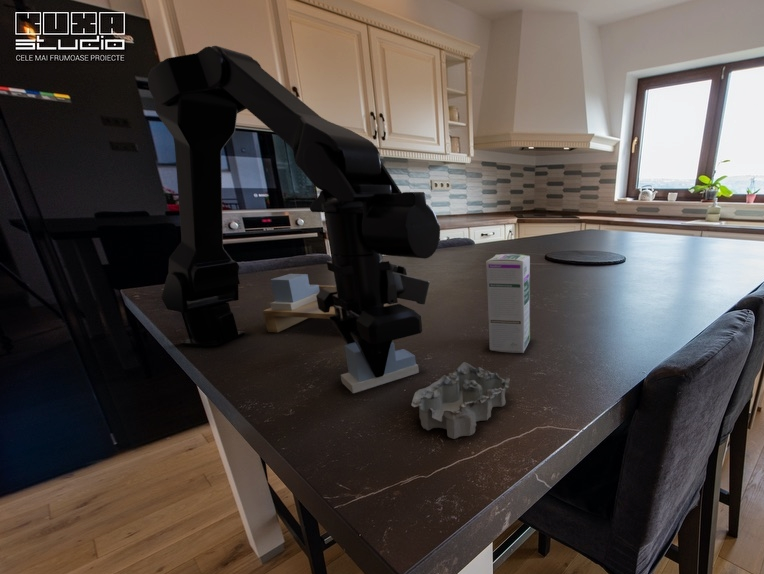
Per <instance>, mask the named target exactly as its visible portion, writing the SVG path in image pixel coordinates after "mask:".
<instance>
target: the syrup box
mask: <svg viewBox="0 0 764 574" xmlns="http://www.w3.org/2000/svg"><path fill="white" fill-rule="evenodd" d="M485 266H486V267H485V270H486V271H485V273H486V298H487V300H486V301H487V322H488V323H487V325H488V343H489V344H488V346H489V347H488V348H489V351H491V352H499V353H500V352H501V353H512V354H524V353H525V351H526V349H527V347H528V345H529V343H530V341H531V272H530V271H531V256H530V255H529V254H520V253H502V254H495V255H494V256H493V257H491V258H489V259H487V260H486V261H485Z"/></svg>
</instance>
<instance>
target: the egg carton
mask: <svg viewBox="0 0 764 574" xmlns="http://www.w3.org/2000/svg"><path fill="white" fill-rule="evenodd" d="M510 381H511V378H510V377H507V376H506V377H505V378H502V377H500V375H499V373H498V372H491V371H489V370H488V369H483V368H482V367H480V366H478V367H474V366H473V365H471V364H470V363H468V362H467V361H466V362H465V361H464V362H462V363H461V364H460V365H459V366H458V367H457V368H456V369H455V370H454V371H452V372H448V375H445V374H443V375H442V376H441V377H439V379H438V380H436V381H434V382H432V384H430V385H429V386H427V387H424V388H420V389H418V390H416V391H415V393H414V394H413V398H412V400H411V406H412V407H413V408H417V407H418V411H419V412H418V415H419V420H420V425H421V427H422V429H424V430H426V431H430V430H432V429H439V428H440V429H444V430H446V436H447V438H449V439H453V440H456V439H458V438H460V437H470V436H472V435H474V434H475V432H476V427H477V422H480V421H489V418H491V417H492V410H493V408H496V407H498V408H502V407H504V406H505V405H506V402H507V401H506V391H507V389H506V388H509V387H510Z"/></svg>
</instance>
